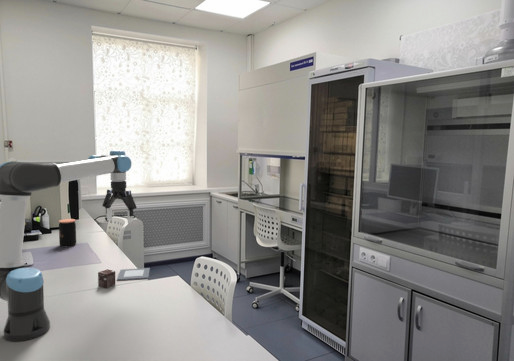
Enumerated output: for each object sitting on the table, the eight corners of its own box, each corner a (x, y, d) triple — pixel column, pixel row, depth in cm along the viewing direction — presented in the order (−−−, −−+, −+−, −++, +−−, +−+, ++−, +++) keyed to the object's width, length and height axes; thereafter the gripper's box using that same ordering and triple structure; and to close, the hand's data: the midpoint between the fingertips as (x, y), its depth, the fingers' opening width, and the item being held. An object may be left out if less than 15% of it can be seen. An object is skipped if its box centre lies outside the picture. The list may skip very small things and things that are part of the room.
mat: (148, 278, 201) (148, 277, 201) (116, 280, 197) (116, 279, 197) (149, 269, 217) (149, 267, 217) (120, 270, 213) (120, 269, 213)
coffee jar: (60, 244, 269) (59, 219, 267) (76, 242, 273) (75, 218, 271) (59, 247, 259) (58, 222, 257) (76, 246, 263) (75, 221, 262)
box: (97, 286, 189) (97, 272, 189) (107, 282, 195) (107, 269, 194) (106, 288, 187) (105, 274, 186) (115, 284, 192) (115, 270, 191)
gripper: (143, 181, 190) (144, 222, 192) (105, 179, 200) (106, 218, 202) (132, 182, 183) (134, 224, 186) (94, 180, 193) (95, 220, 195)
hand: (119, 221), depth 194 cm, fingers open, 13 cm apart
